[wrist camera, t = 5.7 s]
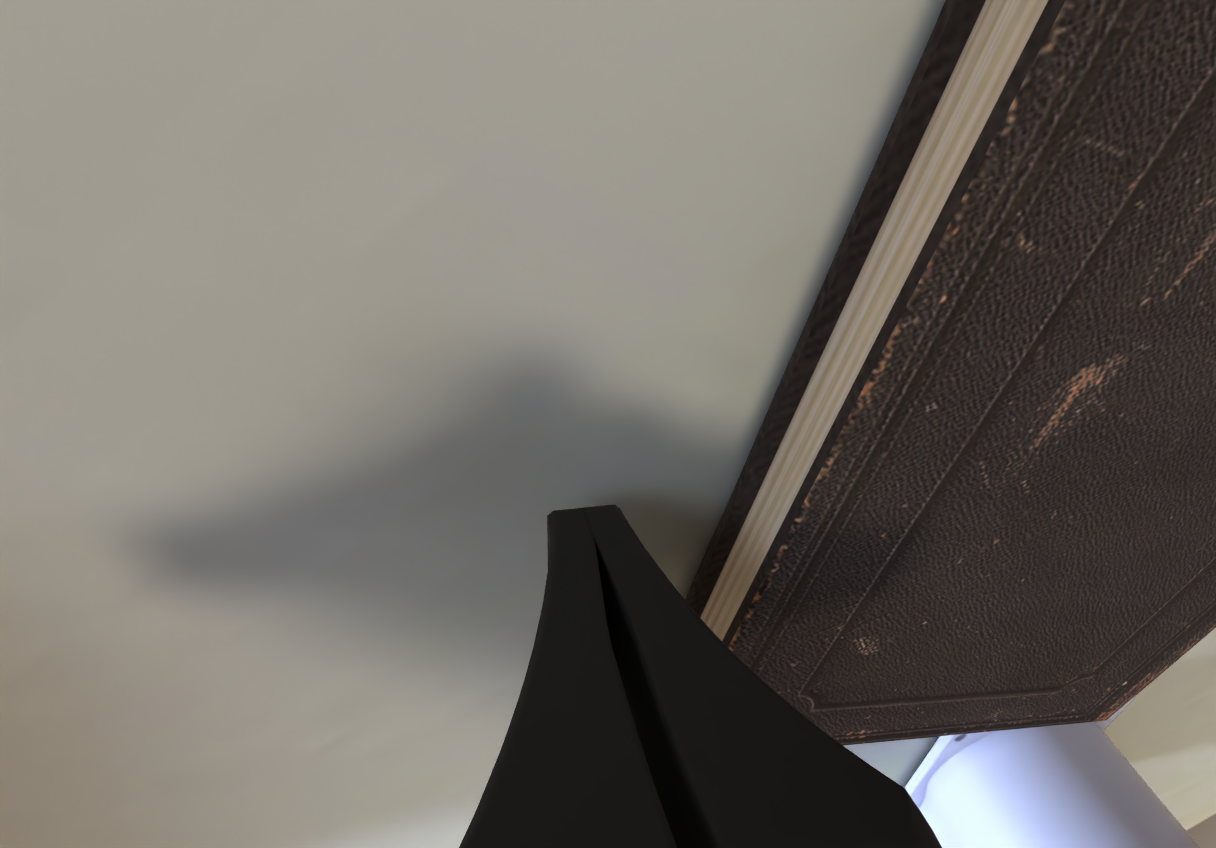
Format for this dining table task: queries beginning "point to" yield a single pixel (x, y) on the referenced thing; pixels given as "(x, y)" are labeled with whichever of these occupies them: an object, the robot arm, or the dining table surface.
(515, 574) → the dining table surface
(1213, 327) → the hardcover book
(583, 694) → the robot arm
